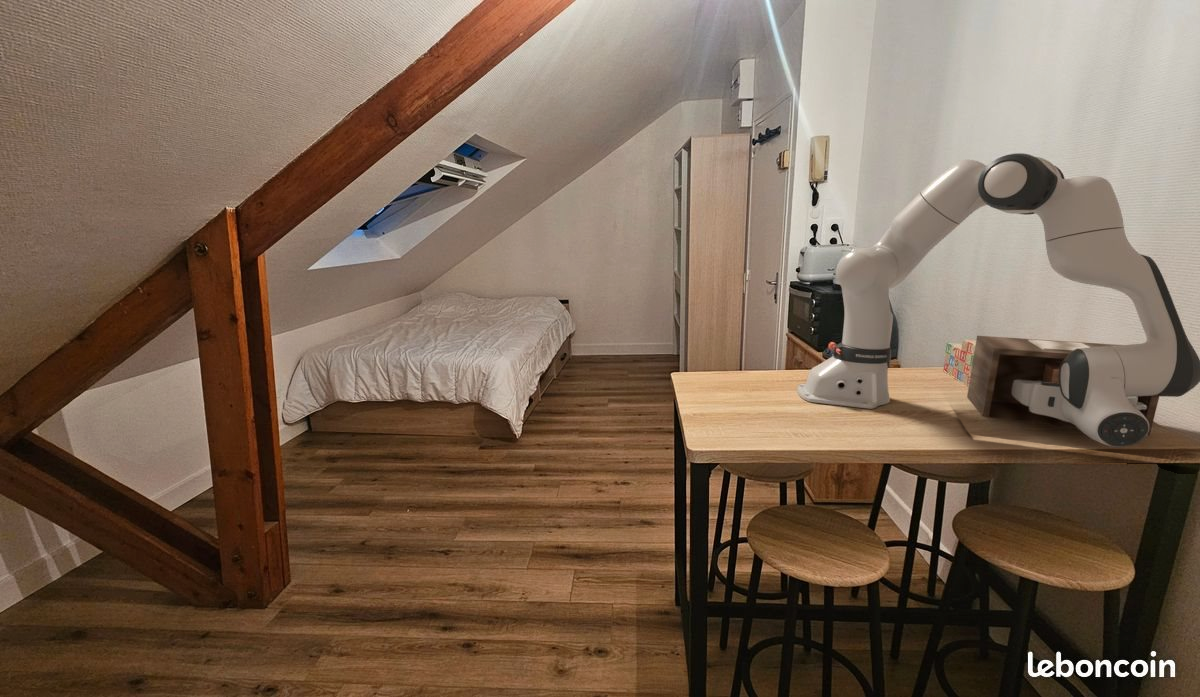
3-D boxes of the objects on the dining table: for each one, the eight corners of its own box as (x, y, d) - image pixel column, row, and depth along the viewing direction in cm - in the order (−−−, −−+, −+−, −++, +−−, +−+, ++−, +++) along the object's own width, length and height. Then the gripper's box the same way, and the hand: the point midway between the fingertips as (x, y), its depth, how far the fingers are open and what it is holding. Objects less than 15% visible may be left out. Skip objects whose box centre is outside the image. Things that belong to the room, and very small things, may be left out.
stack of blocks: (942, 371, 163) (948, 332, 160) (964, 372, 162) (970, 333, 159) (977, 392, 143) (984, 348, 140) (1002, 394, 141) (1010, 349, 139)
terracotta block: (1045, 411, 119) (1053, 368, 117) (1037, 404, 124) (1045, 363, 121) (1073, 414, 117) (1082, 371, 115) (1064, 407, 122) (1072, 365, 120)
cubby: (981, 420, 122) (994, 347, 118) (966, 400, 136) (977, 334, 132) (1148, 439, 111) (1168, 359, 107) (1113, 416, 124) (1130, 344, 120)
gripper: (1155, 394, 103) (1120, 376, 115) (1027, 383, 111) (1006, 367, 123) (1148, 425, 104) (1113, 404, 117) (1021, 411, 112) (1002, 393, 125)
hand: (1058, 385), depth 120 cm, fingers closed on terracotta block, 5 cm apart
